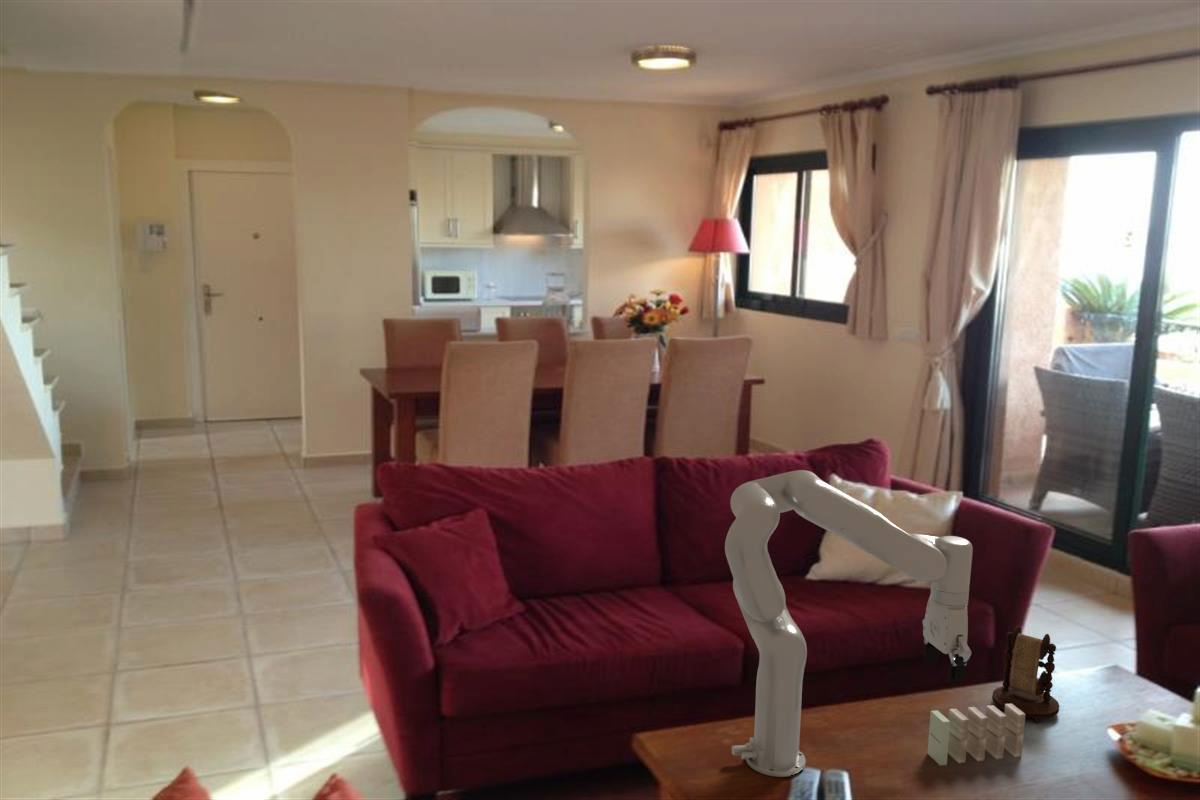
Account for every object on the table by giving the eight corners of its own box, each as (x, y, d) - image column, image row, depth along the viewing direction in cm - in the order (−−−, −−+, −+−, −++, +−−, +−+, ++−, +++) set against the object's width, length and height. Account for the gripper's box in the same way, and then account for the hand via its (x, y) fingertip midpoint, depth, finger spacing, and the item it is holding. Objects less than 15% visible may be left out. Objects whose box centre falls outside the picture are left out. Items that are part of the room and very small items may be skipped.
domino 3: (977, 761, 213) (981, 718, 212) (964, 749, 218) (968, 707, 217) (984, 760, 214) (988, 717, 212) (971, 749, 219) (974, 706, 217)
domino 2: (958, 763, 213) (962, 720, 211) (946, 751, 217) (949, 709, 216) (965, 762, 213) (969, 719, 211) (952, 750, 218) (956, 708, 216)
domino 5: (1014, 757, 215) (1018, 714, 214) (1001, 746, 220) (1005, 703, 218) (1021, 756, 216) (1025, 714, 214) (1007, 745, 220) (1011, 703, 219)
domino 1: (939, 765, 212) (943, 722, 210) (927, 753, 216) (930, 710, 215) (946, 764, 212) (950, 721, 210) (934, 752, 217) (937, 710, 215)
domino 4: (996, 759, 214) (1000, 716, 213) (982, 747, 219) (986, 705, 217) (1003, 758, 215) (1006, 715, 213) (989, 747, 219) (993, 705, 218)
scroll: (981, 709, 237) (988, 630, 233) (1005, 689, 248) (1012, 613, 244) (1045, 731, 227) (1053, 648, 224) (1067, 709, 238) (1075, 630, 234)
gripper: (912, 582, 216) (906, 656, 218) (955, 612, 199) (948, 691, 202) (943, 580, 217) (937, 654, 220) (989, 610, 200) (982, 689, 203)
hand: (942, 672), depth 211 cm, fingers open, 9 cm apart
